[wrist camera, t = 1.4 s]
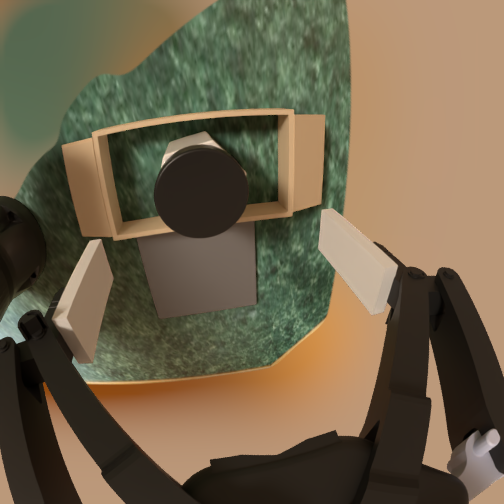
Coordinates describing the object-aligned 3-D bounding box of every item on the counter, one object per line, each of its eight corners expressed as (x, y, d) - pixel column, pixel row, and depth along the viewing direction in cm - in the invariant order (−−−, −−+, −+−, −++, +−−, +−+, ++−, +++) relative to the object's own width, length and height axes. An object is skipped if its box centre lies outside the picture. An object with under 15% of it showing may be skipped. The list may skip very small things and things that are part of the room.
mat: (159, 316, 43) (159, 319, 43) (134, 227, 35) (134, 228, 35) (255, 302, 46) (256, 304, 46) (253, 210, 38) (254, 212, 37)
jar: (218, 205, 36) (233, 250, 26) (156, 193, 34) (146, 235, 24) (237, 139, 33) (264, 157, 22) (172, 123, 30) (166, 133, 20)
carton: (88, 232, 34) (80, 246, 30) (68, 137, 27) (55, 142, 23) (313, 201, 39) (326, 212, 36) (316, 109, 33) (331, 111, 29)
